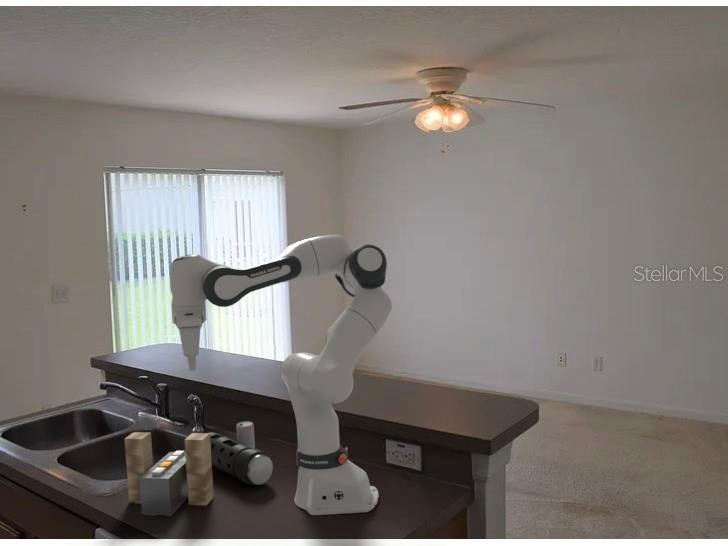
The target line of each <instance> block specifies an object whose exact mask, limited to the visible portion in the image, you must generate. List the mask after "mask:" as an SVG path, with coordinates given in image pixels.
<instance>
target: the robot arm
mask: <svg viewBox="0 0 728 546" xmlns="http://www.w3.org/2000/svg"><path fill="white" fill-rule="evenodd" d="M387 264H388V263H387V257H386V255H385V253H384V251H383V250H382V249H381V248H380V247H378V246H377V245H374V244H370V243H369V244H362V245H360V246H358V247H356V248H355V249H354V250H352V248H351V246H350V245H349V242H348V241H347V239H346V238H345V237H344V236H342V235H340V234H329V235H328V234H327V235H320V236H314V237H310V238H306V239H302V240H300V241H297V242H294V243H292V244H290V245H287V246H285V247H284V249H282V251H281V253H280V254H278V255H277V256H276V257H274V259H270V260H269V261H265V262H262V263H259V264H256V265H252V266H248V267H245V268H231V267H230V266H228V265H226V264H221V263H216V262H213V261H211V260H209V259H207V258H205V257H203V256H202V255H200V254H199V253H192V254H190V253H189V254H186V255H182V256H179V257H176V258H175V259H174V260H173V261H172V262H171V264H170V268H169V269H170V270H169V289H170V292H171V296H172V300H171V304H170V305H171V314H172V315H171V319H172V324H174V325H175V326H176V328H177V329H178V332H179V337H180V342H181V349H182V353H183V356H184V357H186V358H187V364H188V371H190V372H193V371H194V372H195V371H196V370H197V364H196V362H197V361H196V360H197V356H199V353H200V343H201V342H200V339H201V329H202V328H203V324H204V323H205V322H206V321H207V305H206V303H207V302H206V301H207V300H208V301H209V303H211V304H212V305H214V306H216V307H219V308H220V307H221V308H226V307H228V308H229V307H232V306H233V305H235V304H237V303H238V302H239V301H240V300H242V299H243V298H244V297H245V296H247V295H248V294H251V293H253V292H255V291H258V290H262V289H264V288H268V287H271V286H274V285H277V284H280V283H287V282H288V283H289V282H297V281H304V280H305V281H306V280H311V279H314V278H318V277H322V276H325V275H328V274H335V275H334V276H335V279H336V281H338V283H339V284H340V286H341V288H342V289H343V290H344V292H345V294H347V295H348V296H350V297H351V298H352V300H351V301H350V303H349V304H348V305H347V306H346V308H344V310H343V311H342V313H340V315H339V316H338V317H337V318H336V319H335V321H334V322H333V323H332V324H331V325H330V326H329V328H328V329H327V332H326V338H327V339H326V340H327V341H326V344H325V346H324V348H323V350H322V351H321V352H320V353H319V354H318V355H317V354H314V353H310V352H307V351H306V352H304V351H303V352H295V353H291V354H289V355H288V356H287V357H285V359H284V360H283V362H282V365H281V367H280V368H281V369H280V376H281V379H282V381H283V383H284V384H285V386H286V388H287V391H288V393H289V397H290V400H291V406H292V408H293V412H294V416H295V422H296V431H297V432H296V433H297V449H296V455H295V456H296V466H297V467H296V468H297V471H298V473H297V485H296V492H295V496H294V504H295V505H296V506H297V507H298V508H300V509H303V510H305V511H306V512H307V513H308V514H309V515H310V516H322V515H340V514H357V513H360V514H361V513H368V512H370V511H372V510H374V508H375V507H376V506H377V504H378V502H379V499H378V498H380V497H379V491H378V489H377V487H376V486H374V485H370V479H369V477H368V474H367V472H366V470H363V469H362V468H360V467H359V466H358V465H356V464H355V463H354V462H352V461H350V460H349V458H348V446H346V447H343V446H342V445H341V443H340V430H339V428H340V425H339V416H338V415H337V412H336V411H335V409H334V408H333V405H332V404H339V403H342V402H344V401H345V400H347V399H348V397H349V396H350V395H351V394H352V391H353V389H354V384H355V383H354V376H353V373H354V369H355V368H356V365H357V363H358V360H359V358H360V356H361V355H362V353H363V352H364V351H365V349H366V348H367V347H368V346H369V344H370V343H371V342H372V340H374V338H375V337H376V336H377V334H378V333H379V331H380V330H381V329H382V327H383V326H384V324H385V322H386V321H387V319H388V317H389V315H390V313H391V311H392V308H393V303H392V300H391V298H390V296H389V295H388V294H387V293H386V292H385V291H384V290H383V288H382V286H383V285H384V284H385V283H386V282H385V281H386V274H387V267H388V266H387ZM375 505H376V506H375Z"/></svg>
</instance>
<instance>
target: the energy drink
mask: <svg viewBox="0 0 728 546" xmlns="http://www.w3.org/2000/svg"><path fill="white" fill-rule="evenodd" d="M254 427H255V425H254V422H253V421H247V420H246V421H240V422H238V423H237V424H236V426H235V428H236V442H239V443H241V444H243V445H246V446H248V447H250V448H255V449H256V444H255V443H256V442H255V441H256V440H255V428H254Z"/></svg>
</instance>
